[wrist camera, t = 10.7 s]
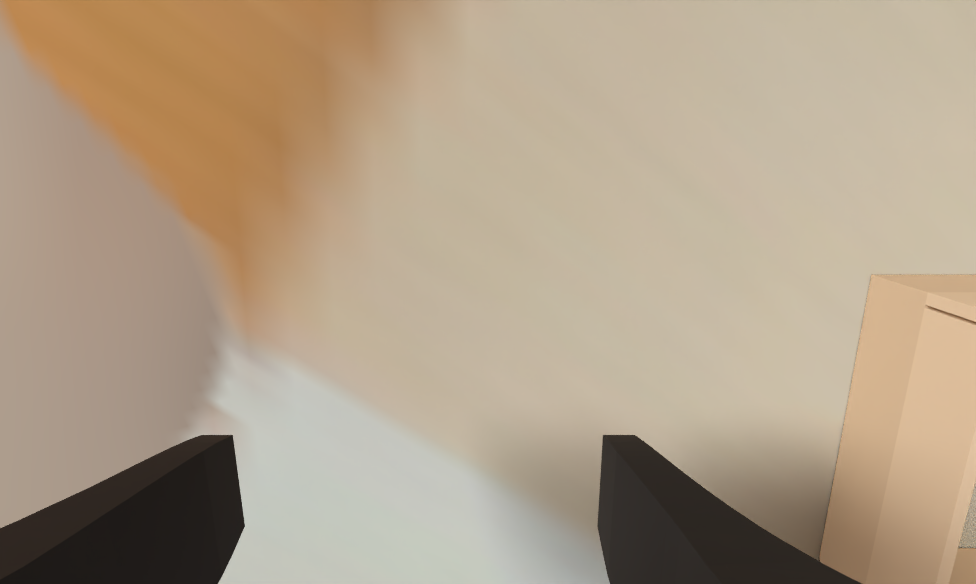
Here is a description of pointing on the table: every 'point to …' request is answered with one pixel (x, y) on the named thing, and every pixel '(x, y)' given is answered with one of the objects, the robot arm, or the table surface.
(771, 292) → the table surface
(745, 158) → the table surface
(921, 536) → the wooden drawer
